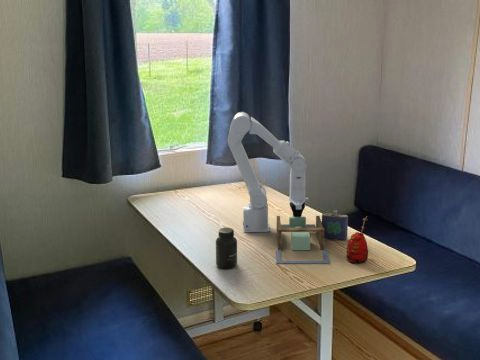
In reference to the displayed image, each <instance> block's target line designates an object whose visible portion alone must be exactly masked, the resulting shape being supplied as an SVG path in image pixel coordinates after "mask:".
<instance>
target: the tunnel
mask: <svg viewBox="0 0 480 360" xmlns="http://www.w3.org/2000/svg"><path fill="white" fill-rule="evenodd" d="M281 224H282V223H281V216H280V215H276V240H277V241H276V243H277V250H280V251H282V247H283V246H282V244H283V243H282V239H283V238H282V233H291V232H309V233H315V234H316V239H317V242H318V247H319V249H320V251H322V250H325V239H324V232H325V230H324V228H323V226H322V218H321V216H320V215H316V216H315V227H316V228H281Z"/></svg>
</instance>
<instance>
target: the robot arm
mask: <svg viewBox="0 0 480 360" xmlns="http://www.w3.org/2000/svg"><path fill="white" fill-rule="evenodd" d="M247 133H248V134H250V135H258V136H259V138H261V139H262V140H263V141H265V142H266V143H267V144H268V145H269V146H271V147H272V150H273V151H272V152H273V153H274V154H275V155H276V156H277V157H278V158H280V160H281V161H283V162H284V163H286V165H287V164H288V165H289V167H290V173H289V197H288V201H289V207H290V209H291V212H292V217H303V216H302V214H303V211H304V210H305V207H306V203H305V202H306V201H309V198H308V197H306V169H307V167H308V164H307V162H306V158H305V157H304V155H302V153H300V151H299V150H297V151H296V149H294V148H293V147H292V146H291V143H290V142H289V141H285V140H279V139H278V138H276V137H275V136H274V135H273V133H271V132H270V131H269V130H268V129H267V128H266V127H265V126H264V125H262V123H260V122H259V121H258V120H257V119H256V118H254V117H252V116H250V115H249V113H247V112H245V111H238V112H237V113H236V114H235V115H234V116H233V118H232V119H231V121H230V126H229V132H228V137H227V145H228V147H229V150H230V153H232V157H233V158H234V160H235V163H236V166H237V167H238V170H239V172H240V174H241V176H242V179H243V180H244V183H245V186H246V188H247V189H246V190H247V192H248V195H249V203H248V205H243V208H242V209H243V213H242V214H243V216H242V217H243V218H242V219H243V220H242V226H243V233H270V223H269V205H268V197H267V191H266V188H264V187H263V185H261V182H260V181H259V179H258V177H257V175H256V172H255V171H254V167H253V166H252V164H251V162H250V159H249V157H248V154H247V152H246V150H245V148H244V145H243V142H242V140H243V138H244V137H245V135H246V134H247Z"/></svg>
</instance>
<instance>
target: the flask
mask: <svg viewBox="0 0 480 360" xmlns="http://www.w3.org/2000/svg"><path fill="white" fill-rule="evenodd" d="M321 222H322V226H323V228H324V230H325V232H324V240H330V241H348V230H349V229H348V226H349V216H348V215H347V214H338V210H336V209H335V210H333V212H332V213H331V212H326V213H322V215H321Z"/></svg>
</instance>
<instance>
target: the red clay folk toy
mask: <svg viewBox="0 0 480 360" xmlns="http://www.w3.org/2000/svg"><path fill="white" fill-rule="evenodd" d="M367 218H368V216H366V217H364V218H362V221H363V223H362V226H361V231H360V232H359V231H355V232H354V233H353V234H351V236H350V239H347V246H346V253H345V254H346V257H345V258H346V260H347V261H349V262H350V263H352V264H355V263H357V264H360V263H363V262H365V261H367V260H368V258H369V249H368V243H367V239H366V237H365V235H364V233H363V230H364V229H365V226H364V225H365V222H366V221H367Z"/></svg>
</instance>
